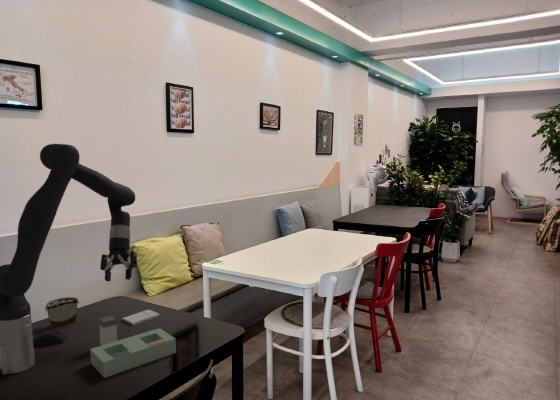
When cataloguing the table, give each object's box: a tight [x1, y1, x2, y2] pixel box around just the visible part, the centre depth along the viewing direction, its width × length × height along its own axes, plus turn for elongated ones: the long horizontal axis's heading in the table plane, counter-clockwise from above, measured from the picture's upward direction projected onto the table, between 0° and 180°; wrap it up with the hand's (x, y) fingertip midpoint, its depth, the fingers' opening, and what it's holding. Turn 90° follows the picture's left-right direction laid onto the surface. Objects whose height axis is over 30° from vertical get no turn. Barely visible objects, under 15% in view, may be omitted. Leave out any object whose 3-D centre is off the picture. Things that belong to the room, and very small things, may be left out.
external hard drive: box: [121, 309, 160, 326], centre depth 176 cm, size 2×8×12 cm
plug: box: [98, 315, 118, 346], centre depth 150 cm, size 4×4×10 cm
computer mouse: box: [33, 329, 67, 348], centre depth 155 cm, size 6×11×4 cm, turn 105°
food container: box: [44, 296, 80, 330], centre depth 170 cm, size 12×6×10 cm, turn 134°
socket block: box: [89, 327, 177, 379], centre depth 141 cm, size 24×12×5 cm, turn 132°
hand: (117, 280), depth 161 cm, fingers open, 8 cm apart
